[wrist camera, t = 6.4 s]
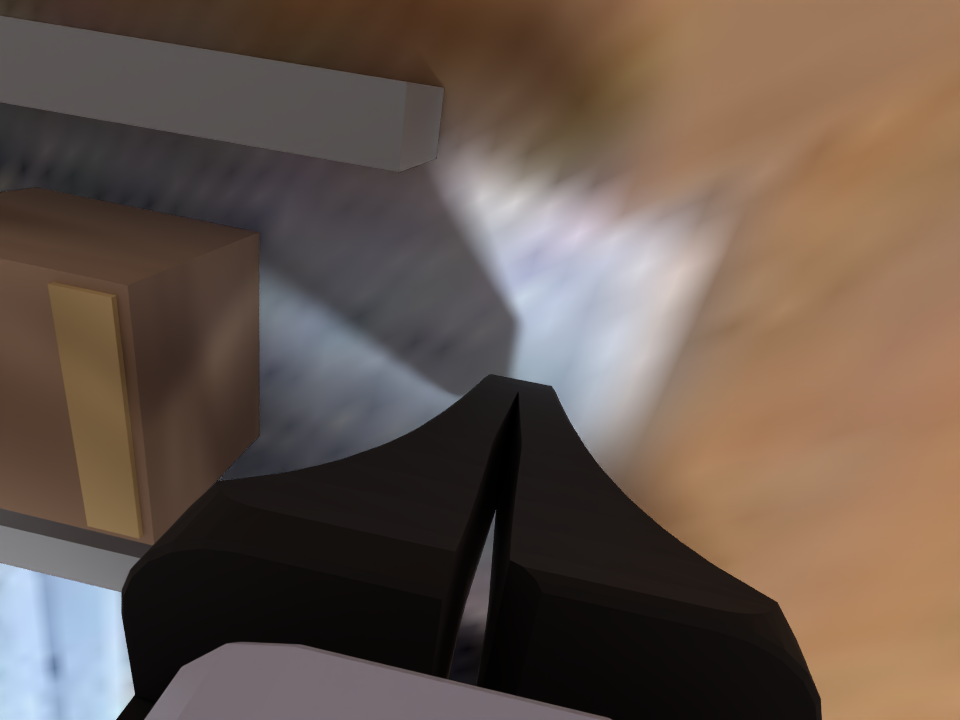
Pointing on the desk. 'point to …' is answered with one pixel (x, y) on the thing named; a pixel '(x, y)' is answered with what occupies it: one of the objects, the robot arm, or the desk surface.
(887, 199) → the desk surface
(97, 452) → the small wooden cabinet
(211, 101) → the bay
